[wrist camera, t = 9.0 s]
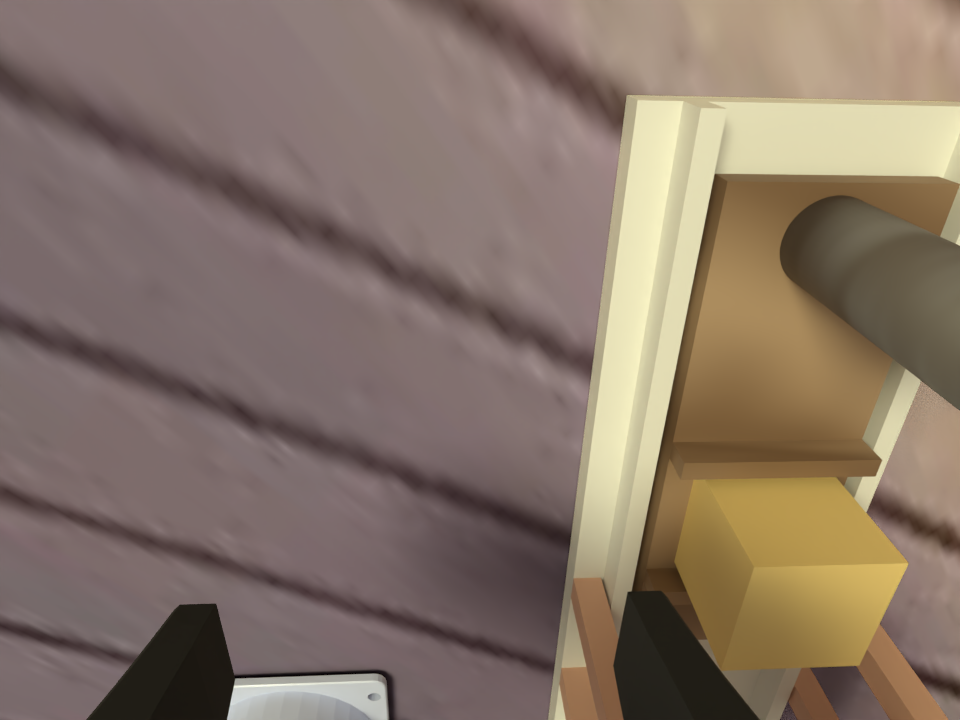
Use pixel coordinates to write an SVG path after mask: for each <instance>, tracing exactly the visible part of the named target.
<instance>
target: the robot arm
mask: <svg viewBox="0 0 960 720" xmlns="http://www.w3.org/2000/svg"><path fill="white" fill-rule="evenodd" d="M613 667H614V673H615V678H616V684H617V689H618V695H619V700H620V705H621V710H622V715H623V720H760V719H759V718H758V717H757V716H756V714H755V713H754V712H753V711H752V709H751V708H750V707H749V706H748V704H747V703H746V702H745V701H744V699H743V698H742V697H741V696H740V694H739V693H738V692H737V691H736V689H735V688H734V687H733V686H732V684H731V683H730V682H729V681H728V679H727V678H726V677H725V676H724V674H723V673H722V672H721V670H720V669H719V668H718V666H717V665H716V664H715V663H714V661H713V660H712V659H711V657H710V656H709V655H708V653H707V652H706V650H705V649H704V648H703V646H702V645H701V644H700V642H699V641H698V640H697V638H696V637H695V636H694V634H693V633H692V631H691V630H690V629H689V627H688V626H687V625H686V623H685V622H684V620H683V619H682V618H681V616H680V615H679V613H678V612H677V610H676V609H675V608H674V606H673V605H672V603H671V602H670V600H669V599H668V598H667V596H666V595H665V594H664V593H663V592H662V591H630V592H627V597H626V602H625V607H624V613H623V618H622V623H621V628H620V633H619V638H618V643H617V649H616V654H615V659H614V664H613ZM87 720H389V708H388V694H387V681H386V678H385V677H383V676H382V675H380V674H375V673H371V674H344V675H317V676H290V677H262V678H235V677H234V673H233V669H232V665H231V661H230V657H229V653H228V649H227V645H226V641H225V637H224V633H223V629H222V625H221V621H220V617H219V613H218V609H217V605H216V604H189V605H179V606H178V607H177V608H176V609H175V610H174V611H173V612H172V613H171V615H170V616H169V617H168V619H167V620H166V621H165V623H164V624H163V625H162V626H161V628H160V629H159V630H158V632H157V633H156V634H155V635H154V637H153V638H152V639H151V641H150V642H149V643H148V644H147V646H146V647H145V648H144V650H143V651H142V652H141V653H140V655H139V656H138V657H137V659H136V660H135V661H134V662H133V664H132V665H131V666H130V667H129V669H128V670H127V671H126V672H125V674H124V675H123V676H122V677H121V679H120V680H119V681H118V682H117V684H116V685H115V686H114V687H113V688H112V690H111V691H110V692H109V693H108V694H107V696H106V697H105V698H104V699H103V700H102V702H101V703H100V704H99V705H98V706H97V708H96V709H95V710H94V711H93V712H92V714H91V715H90V716H89V717H88V718H87Z"/></svg>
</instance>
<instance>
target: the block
mask: <svg viewBox="0 0 960 720" xmlns="http://www.w3.org/2000/svg"><path fill="white" fill-rule="evenodd" d="M674 562H675V564H676V567H677V569H678V572H679V574H680V576H681V579H682V581H683V583H684V586H685V588H686V590H687V593H688V595H689V597H690V600H691V602H692V604H693V607H694V609H695V611H696V614H697V616H698V619H699V621H700V623H701V626H702V628H703V630H704V633H705V635H706V637H707V640H708V642H709V644H710V647H711V649H712V651H713V654H714V656H715V658H716V661H717V663H718V665H719V668H720V670H721V671H732V670H758V669H785V668H811V667H838V666H859V665H860V663H861V661H862V659H863V657H864V655H865V653H866V651H867V649H868V646H869V644H870V642H871V640H872V638H873V636H874V634H875V632H876V630H877V628H878V626H879V624H880V622H881V620H882V617H883V615H884V613H885V611H886V609H887V607H888V605H889V603H890V601H891V599H892V597H893V595H894V593H895V591H896V588H897V586H898V584H899V582H900V580H901V578H902V576H903V574H904V572H905V570H906V568H907V566H908V564H909V563H908V562H907V561H906V559H905V558H904V557H903V556H902V555H901V553H900V552H899V551H898V550H897V549H896V548H895V546H894V545H893V544H892V543H891V542H890V540H889V539H888V538H887V537H886V536H885V535H884V533H883V532H882V531H881V530H880V529H879V527H878V526H877V525H876V524H875V523H874V522H873V520H872V519H871V518H870V517H869V516H868V514H867V513H866V512H865V511H864V510H863V508H862V507H861V506H860V505H859V504H858V503H857V501H856V500H855V499H854V498H853V497H852V495H851V494H850V493H849V492H848V491H847V490H846V488H845V487H844V486H843V485H842V484H841V482H840V481H839V480H838V479H837V478H836V477H821V478H766V479H712V480H694V481H693V485H692V489H691V493H690V497H689V502H688V506H687V510H686V514H685V519H684V523H683V527H682V531H681V535H680V540H679V544H678V548H677V552H676V556H675V561H674Z"/></svg>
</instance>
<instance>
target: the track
mask: <svg viewBox="0 0 960 720" xmlns="http://www.w3.org/2000/svg"><path fill="white" fill-rule="evenodd" d="M715 174H786V175H867V176H938V177H941V178H944V179H947V180H950V181H953V182H956V183H959V184H960V102H948V101H898V100H849V99H799V98H749V97H699V96H649V95H627V98H626V106H625V114H624V122H623V130H622V138H621V146H620V154H619V162H618V169H617V177H616V185H615V193H614V201H613V209H612V217H611V225H610V233H609V241H608V249H607V256H606V264H605V272H604V280H603V288H602V296H601V304H600V312H599V320H598V328H597V336H596V344H595V351H594V359H593V367H592V375H591V383H590V391H589V399H588V407H587V415H586V423H585V431H584V439H583V446H582V454H581V462H580V470H579V478H578V486H577V494H576V502H575V510H574V518H573V526H572V533H571V541H570V549H569V557H568V565H567V573H566V581H565V589H564V597H563V605H562V613H561V621H560V628H559V636H558V644H557V652H556V660H555V668H554V676H553V684H552V692H551V700H550V708H549V715H548V720H623V715H622V710H621V705H620V700H619V695H618V689H617V684H616V678H615V673H614V667H613V664H614V659H615V654H616V649H617V643H618V638H619V633H620V628H621V623H622V618H623V613H624V607H625V602H626V597H627V592H630V591H632V587H633V582H634V577H635V572H636V567H637V562H638V557H639V552H640V547H641V542H642V537H643V532H644V527H645V522H646V517H647V512H648V507H649V502H650V497H651V492H652V487H653V482H654V477H655V472H656V467H657V462H658V457H659V452H660V447H661V442H662V437H663V431H664V426H665V421H666V416H667V411H668V406H669V401H670V396H671V391H672V386H673V381H674V376H675V371H676V366H677V361H678V356H679V351H680V346H681V341H682V336H683V331H684V326H685V321H686V316H687V311H688V306H689V301H690V296H691V291H692V286H693V281H694V276H695V271H696V266H697V261H698V256H699V251H700V246H701V241H702V236H703V231H704V226H705V221H706V216H707V211H708V206H709V201H710V195H711V190H712V185H713V180H714V175H715ZM940 237H942V238H944V239H946V240H949V241H951V242H953V243H955V244H957V245H959V246H960V186H959V189H958V191H957V194H956V197H955V199H954V202H953V204H952V207H951V210H950V212H949V215H948V217H947V220H946V223H945V225H944V228H943V230H942V233H941V236H940ZM920 382H921V380H920V379H918V378H917V377H916V376H915V375H913V374H912V373H911V372H909V371H908V370H907V369H905V368H904V367H903V366H902V365H900V364H899V363H898V362H896V361H895V360H894V359H893V360H892V363H891V366H890V368H889V371H888V373H887V376H886V379H885V381H884V384H883V386H882V389H881V392H880V394H879V397H878V399H877V402H876V405H875V407H874V410H873V412H872V415H871V418H870V420H869V423H868V425H867V428H866V431H865V433H864V436H863V438H862V440H863V441H864V442H865V443H866V444H867V445H868V446H869V447H870V448H871V449H872V450H873V451H874V452H875V453H876V454H877V455H878V456H879V457H880V458H881V459H882V462H881V465H880V467H879V469H878V472H877V474H876V476H875V477H847V480H846V483H845V485H844V487H845V488H846V490H847V491H848V492H849V493H850V494H851V495H852V497H853V498H854V499H855V500H856V501H857V503H858V504H859V505H860V506H861V507H862V508H863V510H864V511H865V512H867V510H868V507H869V505H870V502H871V500H872V498H873V495H874V493H875V490H876V488H877V486H878V483H879V481H880V478H881V476H882V474H883V471H884V469H885V466H886V464H887V462H888V459H889V457H890V454H891V452H892V450H893V447H894V445H895V442H896V440H897V438H898V435H899V433H900V430H901V428H902V426H903V423H904V421H905V418H906V416H907V414H908V411H909V409H910V406H911V404H912V402H913V399H914V397H915V394H916V392H917V390H918V387H919V385H920ZM698 641H699V642H700V644H701V645H702V646H703V648H704V649H705V650H706V652H707V653H708V655H709V656H710V657H711V659H712V660H713V661H714V663H715V664H716V665H717V666H718V668H719V665H718V663H717V661H716V658H715V656H714V654H713V651H712V649H711V647H710V644H709V642H708V640H698ZM856 667H857V668H858V670H859V671H860V673H861V675H862V676H863V678H864V679H865V681H866V682H867V684H868V686H869V687H870V689H871V690H872V692H873V693H874V695H875V697H876V698H877V700H878V701H879V703H880V705H881V706H882V708H883V709H884V711H885V712H886V714H887V716H888V717H889V719H890V720H948V718H947V717H946V716H945V714H944V713H943V711H942V710H941V709H940V707H939V706H938V704H937V703H936V702H935V700H934V699H933V697H932V696H931V695H930V693H929V692H928V690H927V689H926V688H925V686H924V685H923V683H922V682H921V681H920V679H919V678H918V676H917V675H916V674H915V672H914V671H913V669H912V668H911V667H910V665H909V664H908V662H907V661H906V660H905V658H904V657H903V655H902V654H901V653H900V651H899V650H898V648H897V647H896V646H895V644H894V643H893V641H892V640H891V639H890V637H889V636H888V634H887V633H886V632H885V630H884V629H883V628H882V626H881V625H880V624H879V626H878V628H877V630H876V632H875V634H874V636H873V638H872V640H871V642H870V644H869V646H868V649H867V651H866V653H865V655H864V657H863V659H862V661H861V663H860V665H859V666H856ZM719 669H720V668H719ZM721 672H722V673H723V674H724V676H725V677H726V678H727V679H728V681H729V682H730V683H731V684H732V686H733V687H734V688H735V689H736V691H737V692H738V693H739V694H740V696H741V697H742V698H743V699H744V701H745V702H746V703H747V704H748V706H749V707H750V708H751V709H752V711H753V712H754V713H755V714H756V716H757V717H758V718H759V719H760V720H780V718H781V716H782V713H783V711H784V709H785V706H786V704H787V701H788V702H789V704H790V706H791V708H792V710H793V712H794V714H795V716H796V718H797V720H839V718H838V716H837V715H836V713H835V711H834V709H833V707H832V706H831V704H830V702H829V700H828V699H827V697H826V695H825V693H824V691H823V690H822V688H821V686H820V684H819V683H818V681H817V679H816V677H815V675H814V674H813V672H812V670H811V668H785V669H758V670H732V671H721Z"/></svg>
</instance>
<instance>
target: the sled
mask: <svg viewBox="0 0 960 720" xmlns="http://www.w3.org/2000/svg"><path fill="white" fill-rule="evenodd" d="M959 186H960V184H959V183H956V182H953V181H950V180H947V179H944V178H941V177H938V176H867V175H786V174H715V175H714V180H713V185H712V190H711V195H710V201H709V206H708V211H707V216H706V221H705V226H704V231H703V236H702V241H701V246H700V251H699V256H698V261H697V266H696V271H695V276H694V281H693V286H692V291H691V296H690V301H689V306H688V311H687V316H686V321H685V326H684V331H683V336H682V341H681V346H680V351H679V356H678V361H677V366H676V371H675V376H674V381H673V386H672V391H671V396H670V401H669V406H668V411H667V416H666V421H665V426H664V431H663V437H662V442H661V447H660V452H659V457H658V462H657V467H656V472H655V477H654V482H653V487H652V492H651V497H650V502H649V507H648V512H647V517H646V522H645V527H644V532H643V537H642V542H641V547H640V552H639V557H638V562H637V567H636V572H635V577H634V582H633V587H632V591H662V592H663V593H664V594H665V595H666V596H667V598H668V599H669V600H670V602H671V603H672V605H673V606H674V608H675V609H676V610H677V612H678V613H679V615H680V616H681V618H682V619H683V620H684V622H685V623H686V625H687V626H688V627H689V629H690V630H691V631H692V633H693V634H694V636H695V637H696V638H697V640H707V637H706V635H705V633H704V630H703V628H702V626H701V623H700V621H699V619H698V616H697V614H696V611H695V609H694V607H693V604H692V602H691V600H690V597H689V595H688V593H687V590H686V588H685V586H684V583H683V581H682V579H681V576H680V574H679V572H678V569H677V567H676V564H675V562H674V561H675V556H676V552H677V548H678V544H679V540H680V535H681V531H682V527H683V523H684V519H685V514H686V510H687V506H688V502H689V497H690V493H691V489H692V485H693V481H694V480H712V479H766V478H821V477H836V478H837V479H838V480H839V481H840V482H841V484H842V485H843V486H844V485H845V483H846V480H847V477H875V476H876V474H877V472H878V469H879V467H880V465H881V462H882V459H881V458H880V457H879V456H878V455H877V454H876V453H875V452H874V451H873V450H872V449H871V448H870V447H869V446H868V445H867V444H866V443H865V442H864V441H863V440H862V438H863V436H864V433H865V431H866V428H867V425H868V423H869V420H870V418H871V415H872V412H873V410H874V407H875V405H876V402H877V399H878V397H879V394H880V392H881V389H882V386H883V384H884V381H885V379H886V376H887V373H888V371H889V368H890V366H891V363H892V360H893V359H894V360H895V361H896V362H898V363H899V364H900V365H902V366H903V367H904V368H905V369H907V370H908V371H909V372H911V373H912V374H913V375H915V376H916V377H917V378H918V379H920V380H921V381H922V382H924V383H925V384H926V385H927V386H929V387H930V388H931V389H933V390H934V391H935V392H936V393H938V394H939V395H940V396H942V397H943V398H944V399H945V400H947V401H948V402H949V403H951V404H952V405H953V406H954V407H956V408H957V409H958V410H960V246H959V245H957V244H955V243H953V242H951V241H949V240H946V239H944V238H942V237H940V236H941V233H942V230H943V228H944V225H945V223H946V220H947V217H948V215H949V212H950V210H951V207H952V204H953V202H954V199H955V197H956V194H957V191H958V189H959Z"/></svg>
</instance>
